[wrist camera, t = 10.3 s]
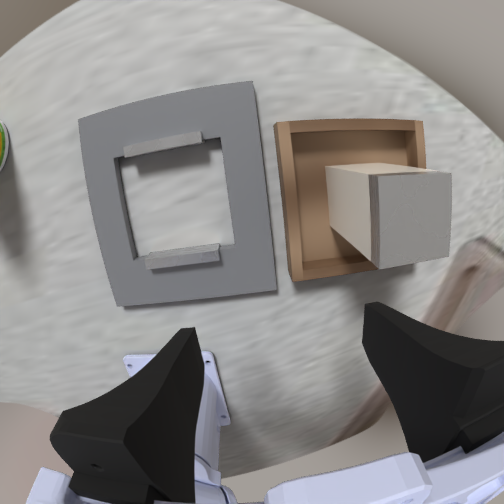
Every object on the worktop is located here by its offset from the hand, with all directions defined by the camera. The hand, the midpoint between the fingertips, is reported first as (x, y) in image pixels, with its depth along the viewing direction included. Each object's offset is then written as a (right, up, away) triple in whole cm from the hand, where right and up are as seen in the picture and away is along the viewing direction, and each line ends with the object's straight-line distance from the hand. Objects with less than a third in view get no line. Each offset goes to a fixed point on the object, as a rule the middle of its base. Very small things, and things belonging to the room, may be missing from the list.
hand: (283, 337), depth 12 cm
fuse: (+6, +7, +7) cm, 12 cm away
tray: (+6, +8, +8) cm, 12 cm away
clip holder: (-6, +7, +7) cm, 12 cm away
